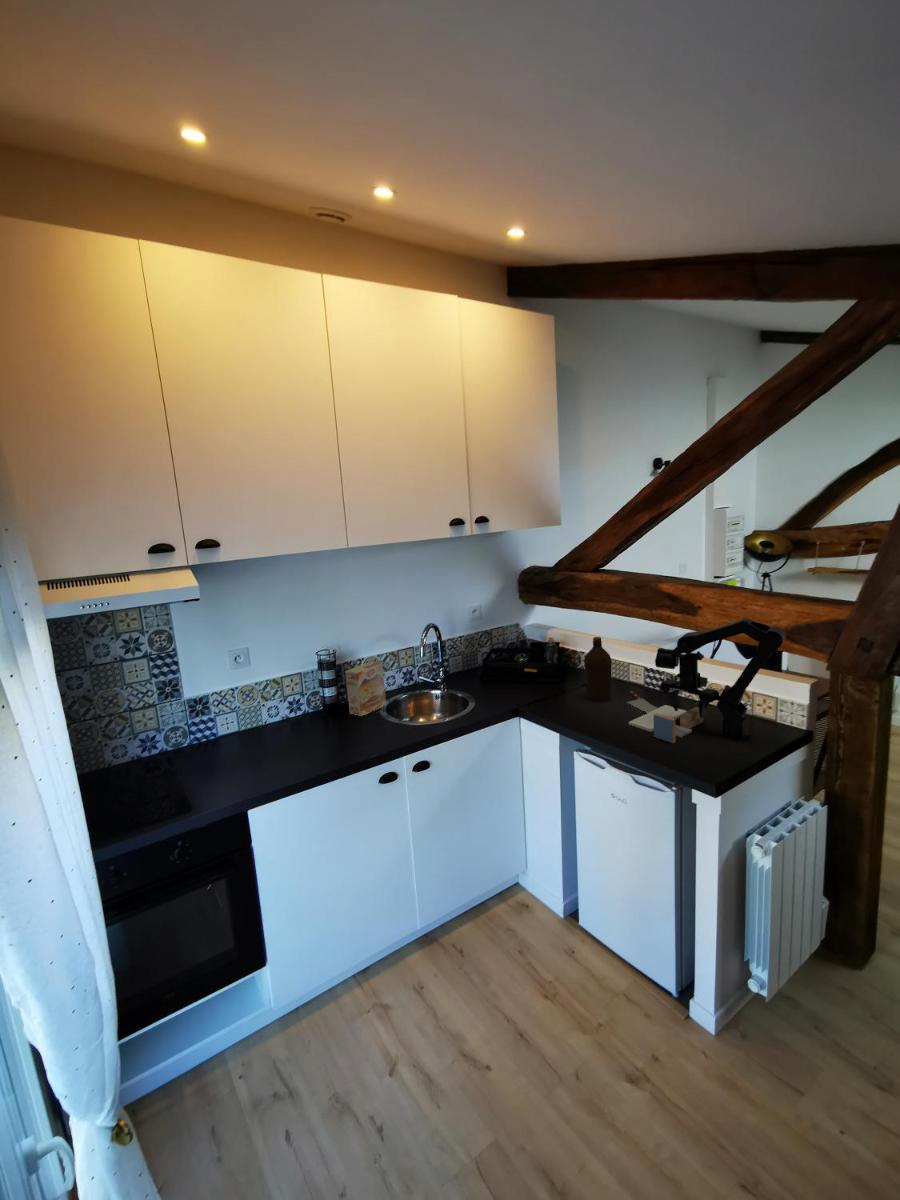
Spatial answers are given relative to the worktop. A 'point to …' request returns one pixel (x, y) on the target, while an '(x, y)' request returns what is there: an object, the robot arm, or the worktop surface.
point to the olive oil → (598, 672)
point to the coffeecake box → (365, 688)
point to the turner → (688, 722)
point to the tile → (664, 728)
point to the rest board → (648, 719)
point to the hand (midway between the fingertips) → (688, 714)
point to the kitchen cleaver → (641, 703)
